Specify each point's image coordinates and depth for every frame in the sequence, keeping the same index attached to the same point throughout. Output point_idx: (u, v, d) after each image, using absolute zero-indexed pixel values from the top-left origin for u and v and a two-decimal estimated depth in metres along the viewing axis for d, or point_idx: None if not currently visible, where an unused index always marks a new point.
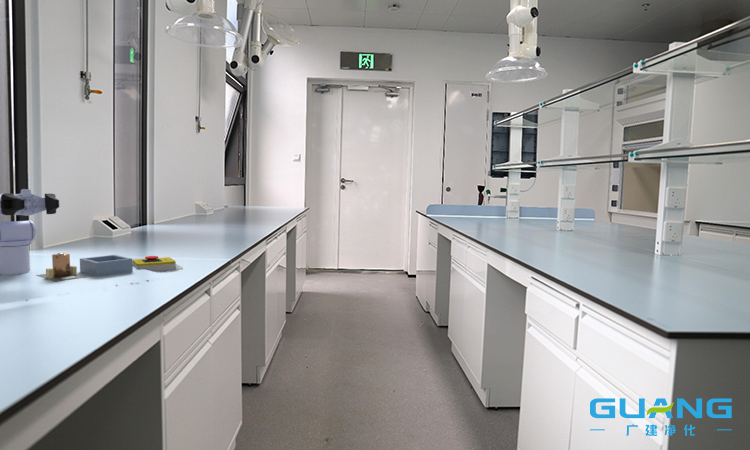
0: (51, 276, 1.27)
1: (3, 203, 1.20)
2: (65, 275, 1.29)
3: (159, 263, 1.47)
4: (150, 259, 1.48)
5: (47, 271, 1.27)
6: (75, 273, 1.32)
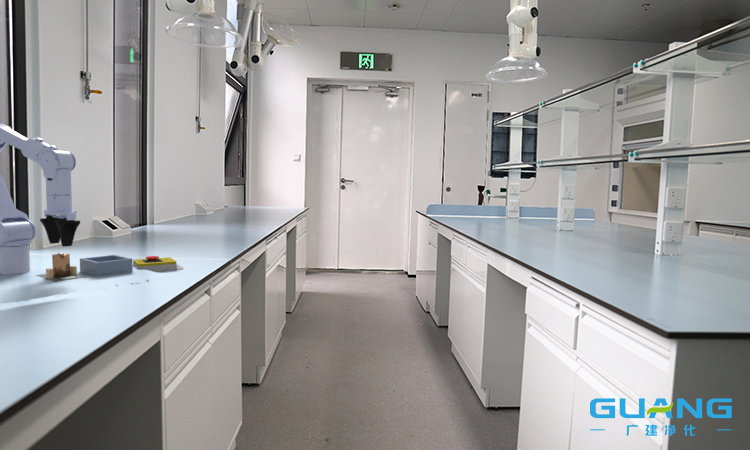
0: (51, 276, 1.27)
1: (70, 222, 1.25)
2: (65, 275, 1.29)
3: (160, 263, 1.46)
4: (151, 259, 1.48)
5: (47, 271, 1.27)
6: (75, 273, 1.32)
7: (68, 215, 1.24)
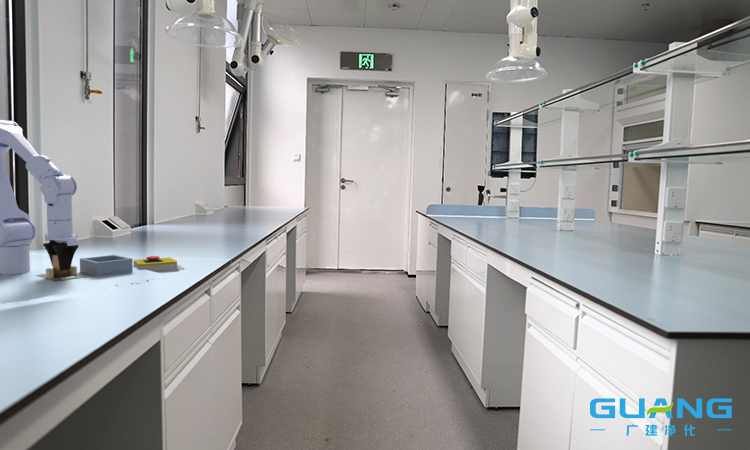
0: (51, 276, 1.27)
1: (68, 247, 1.27)
2: (65, 275, 1.29)
3: (160, 263, 1.46)
4: (151, 259, 1.48)
5: (47, 271, 1.27)
6: (75, 273, 1.32)
7: (69, 241, 1.24)
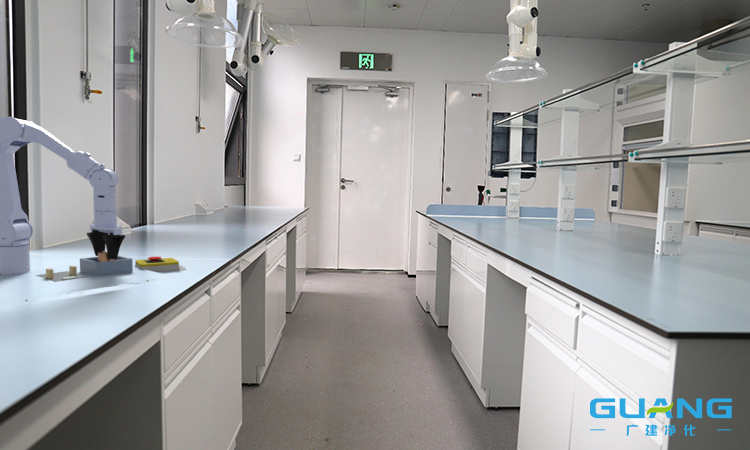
0: (51, 276, 1.27)
1: (116, 237, 1.34)
2: None
3: (162, 264, 1.46)
4: (153, 260, 1.47)
5: (47, 271, 1.27)
6: (75, 273, 1.32)
7: (115, 230, 1.32)
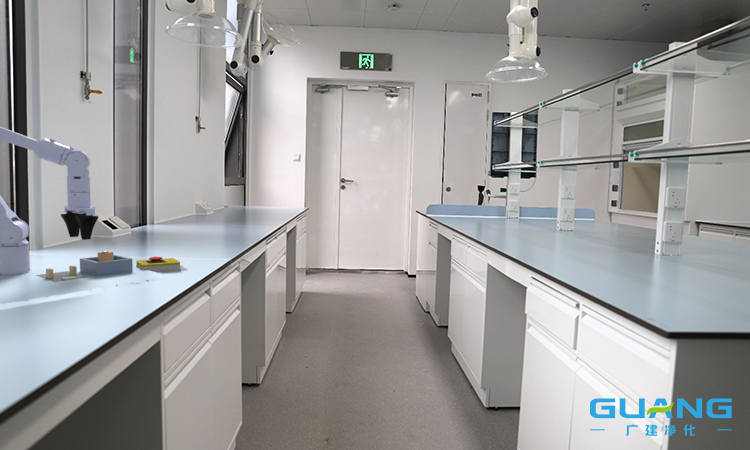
0: (51, 276, 1.27)
1: (89, 217, 1.36)
2: None
3: (163, 264, 1.46)
4: (154, 260, 1.47)
5: (47, 271, 1.27)
6: (75, 273, 1.32)
7: (88, 211, 1.34)
